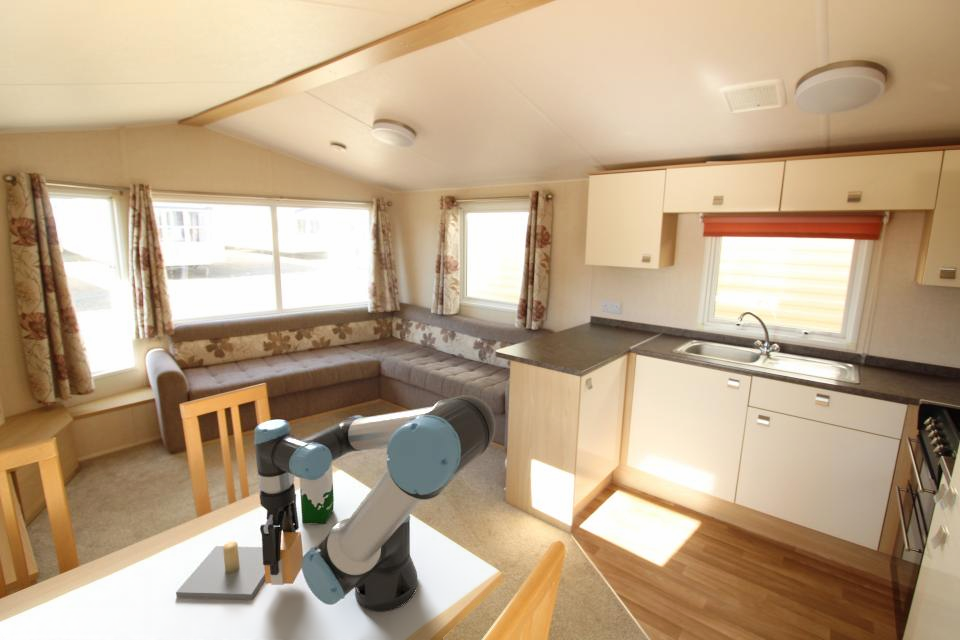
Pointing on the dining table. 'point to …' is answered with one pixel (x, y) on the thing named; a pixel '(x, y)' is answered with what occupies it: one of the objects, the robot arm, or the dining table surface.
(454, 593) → the dining table surface
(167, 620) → the dining table surface
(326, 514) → the milk carton
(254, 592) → the board
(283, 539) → the wooden toy block
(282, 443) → the robot arm
